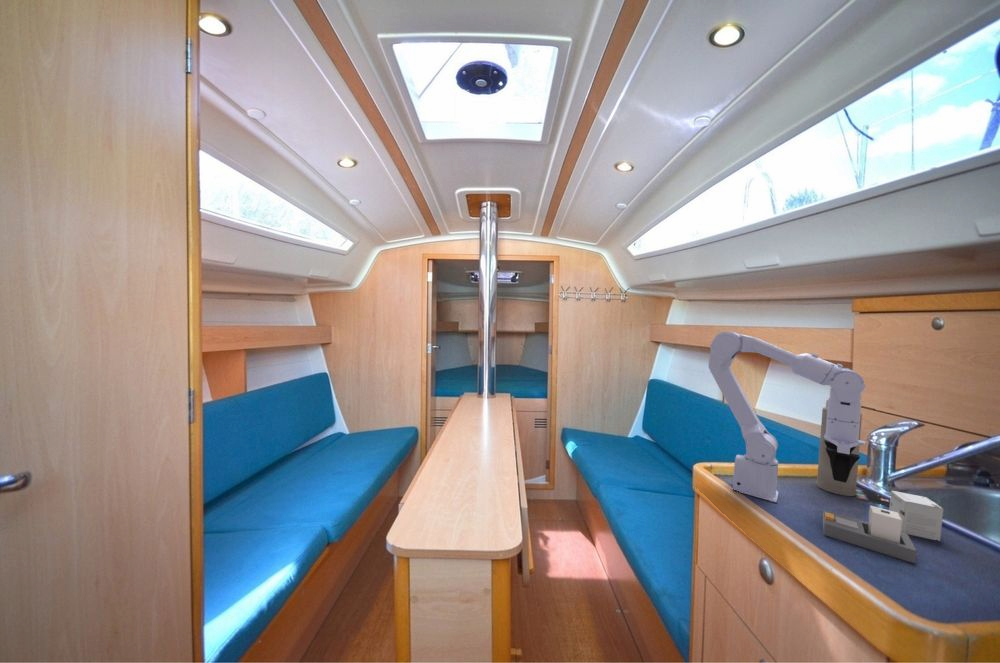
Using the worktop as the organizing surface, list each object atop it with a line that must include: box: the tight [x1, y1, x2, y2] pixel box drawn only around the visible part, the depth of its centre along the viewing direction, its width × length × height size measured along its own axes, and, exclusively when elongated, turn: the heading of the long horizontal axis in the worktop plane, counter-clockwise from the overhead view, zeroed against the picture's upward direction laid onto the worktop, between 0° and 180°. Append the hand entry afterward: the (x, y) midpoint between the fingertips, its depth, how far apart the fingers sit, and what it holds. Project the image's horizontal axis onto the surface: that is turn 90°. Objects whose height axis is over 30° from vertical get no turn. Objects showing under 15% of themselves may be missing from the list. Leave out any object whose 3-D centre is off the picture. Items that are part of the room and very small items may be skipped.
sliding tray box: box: [822, 509, 917, 564], centre depth 76 cm, size 13×8×3 cm, turn 50°
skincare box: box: [888, 490, 944, 542], centre depth 80 cm, size 6×6×7 cm
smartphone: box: [854, 488, 890, 508], centre depth 94 cm, size 8×15×1 cm, turn 56°
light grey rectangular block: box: [868, 505, 902, 543], centre depth 74 cm, size 4×4×7 cm
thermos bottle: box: [816, 399, 863, 497], centre depth 100 cm, size 8×8×28 cm
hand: (838, 476), depth 86 cm, fingers open, 7 cm apart
